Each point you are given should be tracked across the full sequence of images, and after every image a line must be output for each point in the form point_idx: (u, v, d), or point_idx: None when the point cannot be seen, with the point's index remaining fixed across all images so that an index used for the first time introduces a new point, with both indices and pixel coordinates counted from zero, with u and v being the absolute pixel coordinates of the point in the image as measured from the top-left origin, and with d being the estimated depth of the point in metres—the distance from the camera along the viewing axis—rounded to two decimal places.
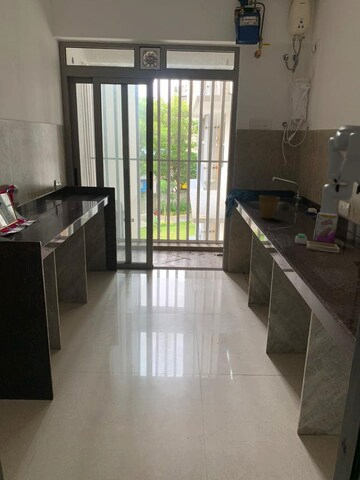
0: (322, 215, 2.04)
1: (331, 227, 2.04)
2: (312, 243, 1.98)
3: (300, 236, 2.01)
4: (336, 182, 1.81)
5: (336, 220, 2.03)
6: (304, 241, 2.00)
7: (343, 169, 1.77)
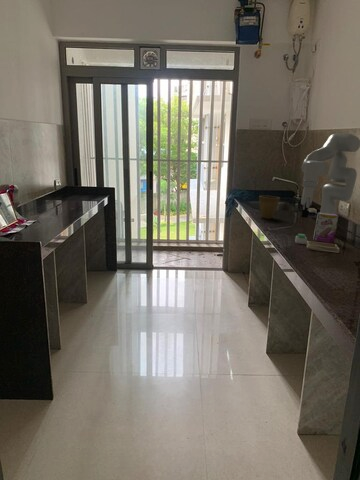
0: (322, 215, 2.04)
1: (331, 227, 2.04)
2: (312, 243, 1.98)
3: (300, 236, 2.01)
4: (307, 210, 1.97)
5: (336, 220, 2.03)
6: (304, 241, 2.00)
7: (312, 195, 1.92)
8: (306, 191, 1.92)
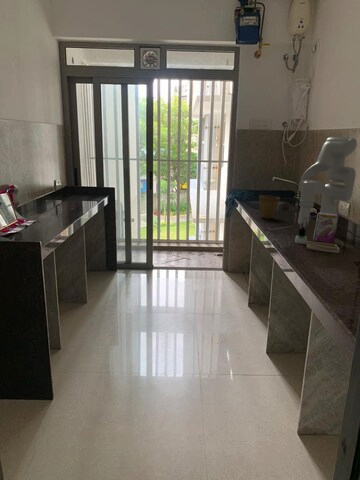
0: (322, 215, 2.04)
1: (331, 227, 2.04)
2: (312, 243, 1.98)
3: (300, 237, 2.02)
4: (304, 229, 2.00)
5: (336, 220, 2.03)
6: (304, 241, 2.00)
7: (309, 215, 1.95)
8: (303, 211, 1.95)
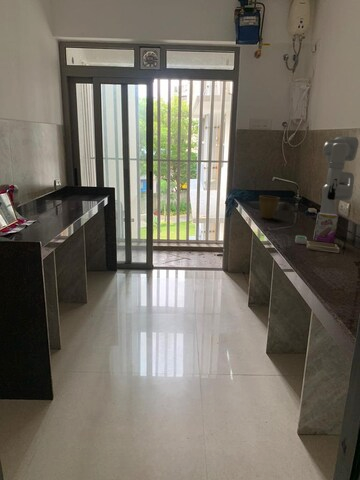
0: (322, 215, 2.04)
1: (331, 227, 2.04)
2: (312, 243, 1.98)
3: None
4: (334, 191, 1.98)
5: (336, 220, 2.03)
6: (304, 241, 2.00)
7: (339, 177, 1.95)
8: (333, 172, 1.95)
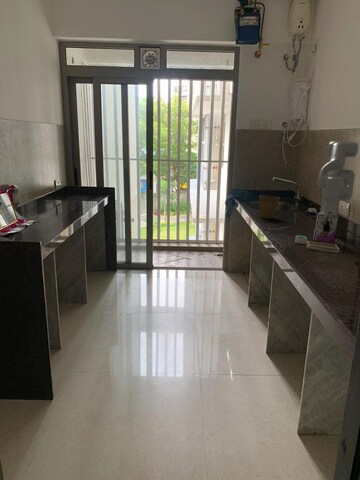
0: (322, 215, 2.04)
1: (331, 227, 2.04)
2: (312, 243, 1.98)
3: None
4: (329, 223, 2.02)
5: (336, 220, 2.03)
6: (304, 241, 2.00)
7: (334, 210, 2.00)
8: (327, 206, 2.00)
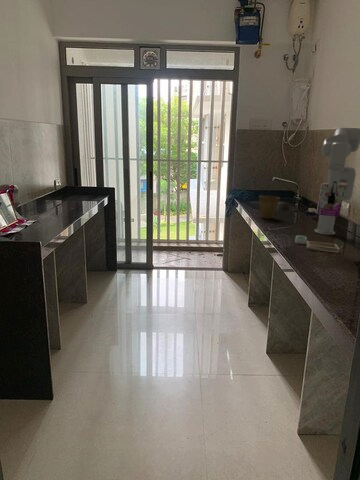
0: (326, 185, 1.84)
1: (336, 198, 1.84)
2: (312, 243, 1.98)
3: None
4: (334, 194, 1.82)
5: (342, 191, 1.82)
6: (304, 241, 2.00)
7: (339, 179, 1.80)
8: (333, 174, 1.79)
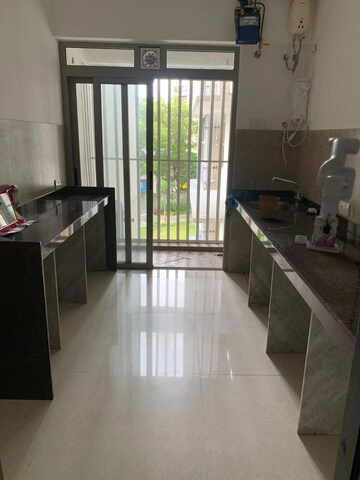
0: (321, 219, 1.88)
1: (330, 232, 1.88)
2: None
3: None
4: None
5: (336, 224, 1.87)
6: (304, 241, 2.00)
7: (334, 211, 1.84)
8: (327, 207, 1.84)
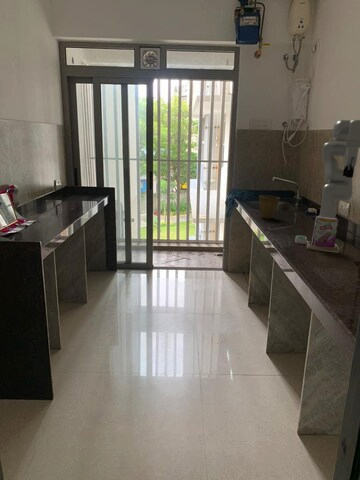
0: (321, 219, 1.88)
1: (330, 232, 1.89)
2: None
3: None
4: (353, 168, 1.88)
5: (336, 224, 1.87)
6: (304, 241, 2.00)
7: None
8: (350, 151, 1.88)
